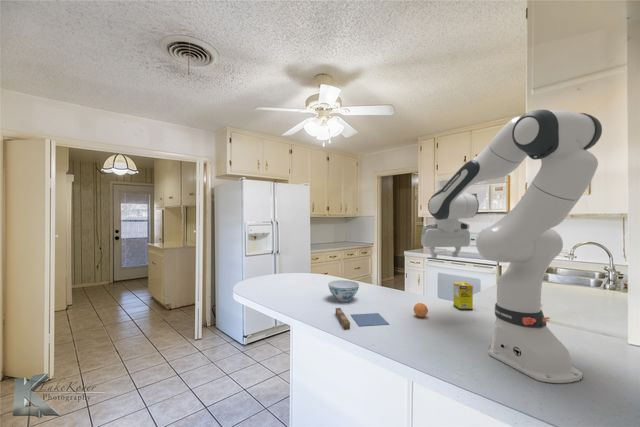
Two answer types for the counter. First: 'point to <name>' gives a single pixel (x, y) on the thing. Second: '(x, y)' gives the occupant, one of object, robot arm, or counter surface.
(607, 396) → the counter surface
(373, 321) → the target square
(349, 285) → the chinaware
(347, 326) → the bar
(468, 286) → the supplement box
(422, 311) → the ball
